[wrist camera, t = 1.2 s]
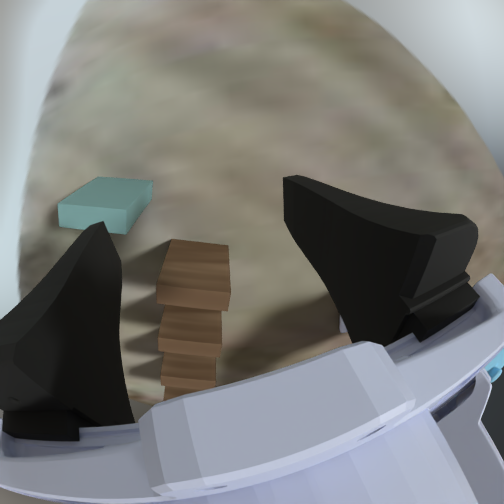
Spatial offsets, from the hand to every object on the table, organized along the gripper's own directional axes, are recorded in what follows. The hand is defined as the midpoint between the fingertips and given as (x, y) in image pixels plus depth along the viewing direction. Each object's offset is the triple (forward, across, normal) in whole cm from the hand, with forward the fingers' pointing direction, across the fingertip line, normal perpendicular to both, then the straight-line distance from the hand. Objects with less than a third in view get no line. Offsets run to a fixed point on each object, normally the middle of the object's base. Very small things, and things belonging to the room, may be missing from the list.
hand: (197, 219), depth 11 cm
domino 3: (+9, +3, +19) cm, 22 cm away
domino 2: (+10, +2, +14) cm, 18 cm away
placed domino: (+13, +5, +3) cm, 14 cm away
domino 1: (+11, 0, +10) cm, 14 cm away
